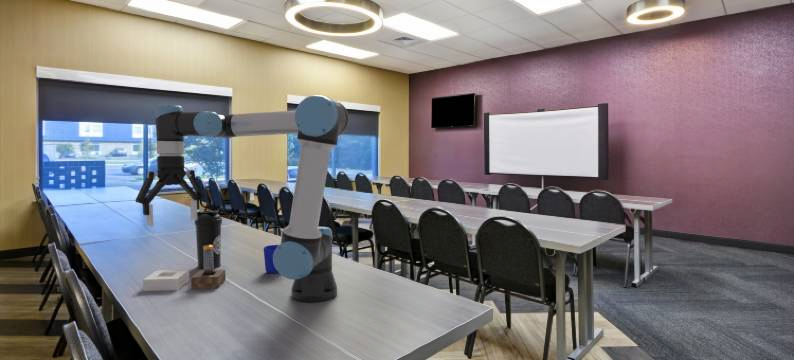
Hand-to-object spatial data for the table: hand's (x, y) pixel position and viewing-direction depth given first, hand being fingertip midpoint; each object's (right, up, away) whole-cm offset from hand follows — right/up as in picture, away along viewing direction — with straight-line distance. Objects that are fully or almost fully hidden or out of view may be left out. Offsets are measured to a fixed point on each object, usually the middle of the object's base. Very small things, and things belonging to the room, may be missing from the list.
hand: (172, 222), depth 133 cm
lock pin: (+4, -24, +18) cm, 30 cm away
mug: (+23, -23, +35) cm, 48 cm away
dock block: (-10, -24, +16) cm, 30 cm away
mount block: (+4, -24, +18) cm, 30 cm away
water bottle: (-7, -22, +40) cm, 47 cm away
